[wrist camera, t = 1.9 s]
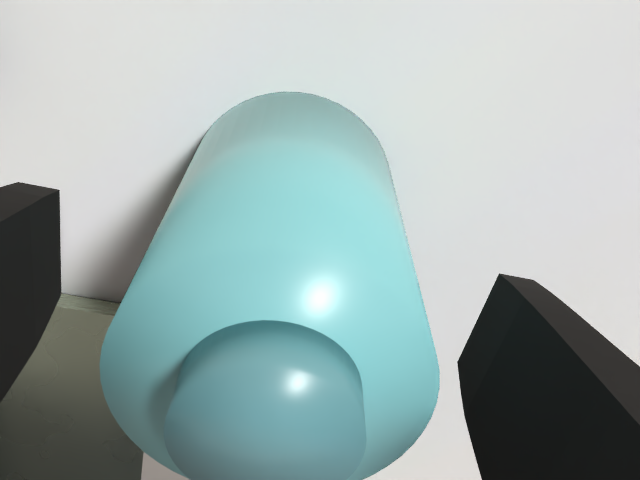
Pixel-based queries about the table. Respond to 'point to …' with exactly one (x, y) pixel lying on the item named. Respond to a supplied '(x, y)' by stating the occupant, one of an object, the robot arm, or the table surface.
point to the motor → (69, 407)
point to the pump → (276, 307)
